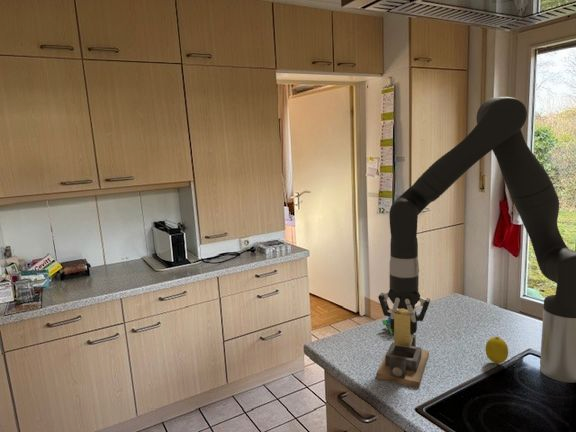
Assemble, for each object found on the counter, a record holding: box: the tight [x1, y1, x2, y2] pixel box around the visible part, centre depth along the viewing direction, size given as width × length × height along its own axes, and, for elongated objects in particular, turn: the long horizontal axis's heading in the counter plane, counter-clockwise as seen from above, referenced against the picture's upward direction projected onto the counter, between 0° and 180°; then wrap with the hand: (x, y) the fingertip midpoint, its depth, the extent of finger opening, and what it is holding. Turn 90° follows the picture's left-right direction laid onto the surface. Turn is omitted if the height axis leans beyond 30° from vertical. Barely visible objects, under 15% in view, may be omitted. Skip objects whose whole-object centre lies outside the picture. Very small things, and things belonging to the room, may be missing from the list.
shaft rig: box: [375, 334, 430, 388], centre depth 111 cm, size 11×17×6 cm, turn 153°
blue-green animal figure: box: [382, 317, 394, 334], centre depth 134 cm, size 11×6×10 cm
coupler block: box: [393, 309, 413, 347], centre depth 110 cm, size 4×4×9 cm
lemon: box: [485, 336, 509, 365], centre depth 110 cm, size 6×6×8 cm
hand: (403, 331), depth 110 cm, fingers closed on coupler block, 4 cm apart
